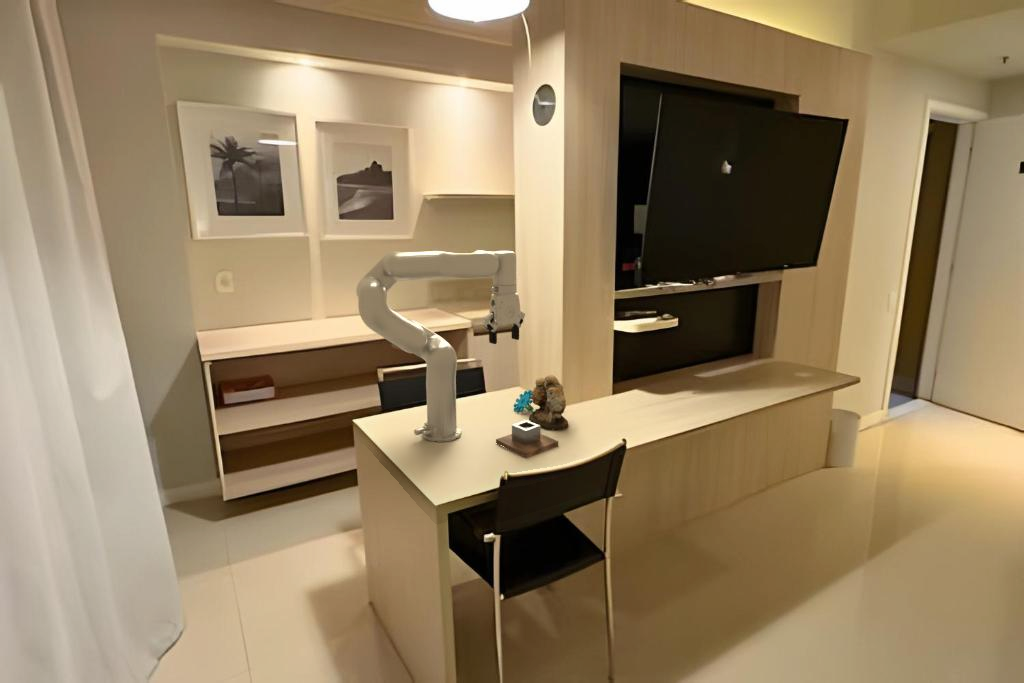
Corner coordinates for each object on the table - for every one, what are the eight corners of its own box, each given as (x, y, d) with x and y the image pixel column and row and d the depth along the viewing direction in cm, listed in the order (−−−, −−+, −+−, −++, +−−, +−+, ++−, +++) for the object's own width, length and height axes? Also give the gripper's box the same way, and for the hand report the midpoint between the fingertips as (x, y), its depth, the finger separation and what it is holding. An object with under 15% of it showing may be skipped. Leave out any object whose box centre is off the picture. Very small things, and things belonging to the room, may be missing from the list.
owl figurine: (519, 417, 199) (519, 372, 196) (545, 411, 206) (546, 367, 202) (549, 433, 185) (550, 384, 181) (576, 426, 191) (578, 379, 188)
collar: (525, 445, 171) (525, 430, 170) (511, 439, 176) (511, 424, 175) (540, 440, 175) (540, 425, 174) (526, 434, 180) (526, 420, 179)
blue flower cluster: (509, 402, 210) (528, 384, 209) (520, 411, 213) (538, 393, 211) (515, 416, 200) (535, 397, 199) (526, 425, 202) (546, 407, 201)
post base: (525, 458, 166) (525, 440, 165) (495, 443, 176) (495, 427, 175) (558, 445, 175) (558, 429, 174) (528, 432, 185) (528, 417, 184)
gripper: (491, 293, 171) (491, 347, 175) (531, 288, 182) (531, 339, 186) (476, 290, 177) (476, 343, 180) (516, 286, 188) (516, 335, 192)
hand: (504, 341), depth 183 cm, fingers open, 9 cm apart
